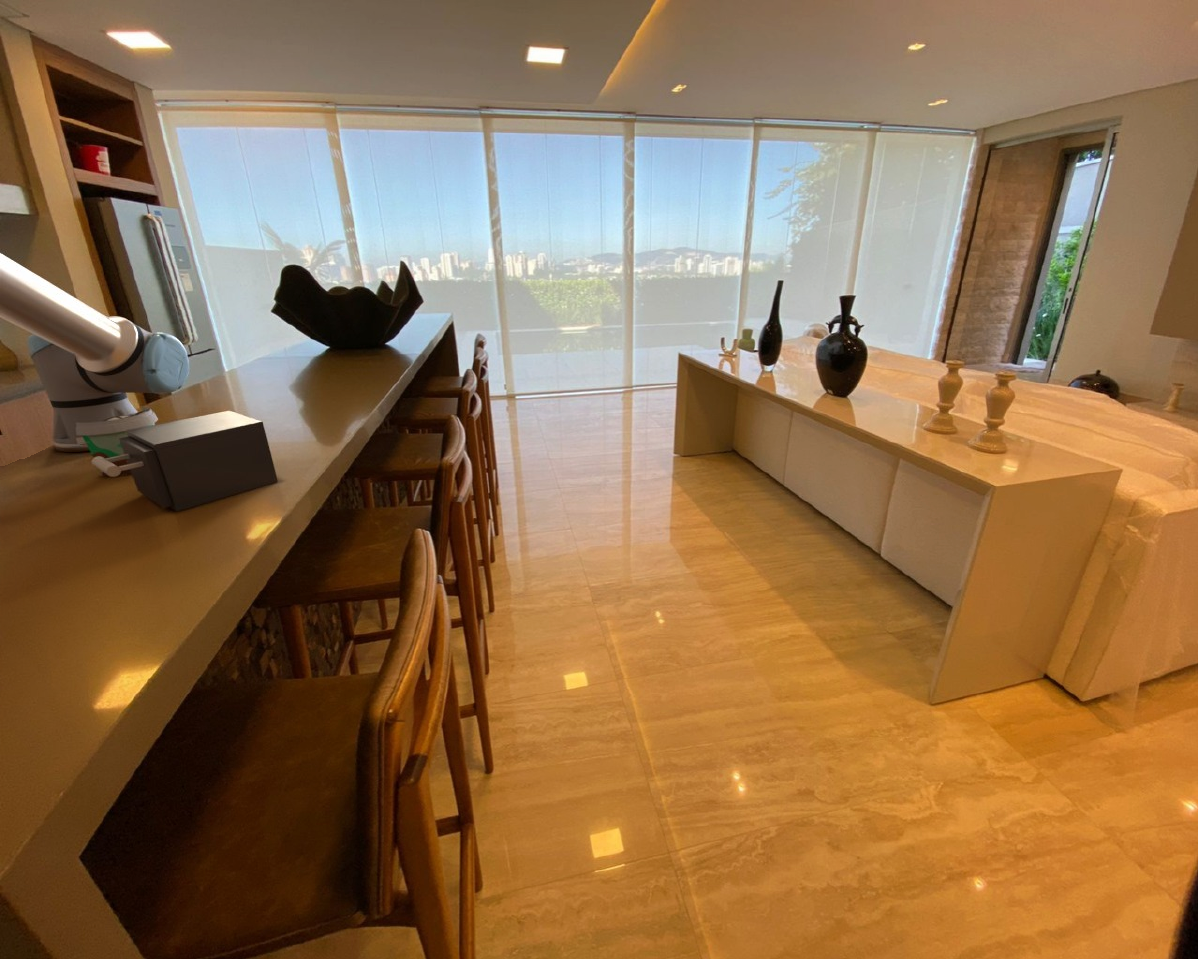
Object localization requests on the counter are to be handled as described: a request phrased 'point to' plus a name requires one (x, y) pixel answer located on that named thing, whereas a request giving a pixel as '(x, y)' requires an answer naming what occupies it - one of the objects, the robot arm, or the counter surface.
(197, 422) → the cabinet
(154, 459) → the drawer
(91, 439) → the food container
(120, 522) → the counter surface
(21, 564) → the counter surface
